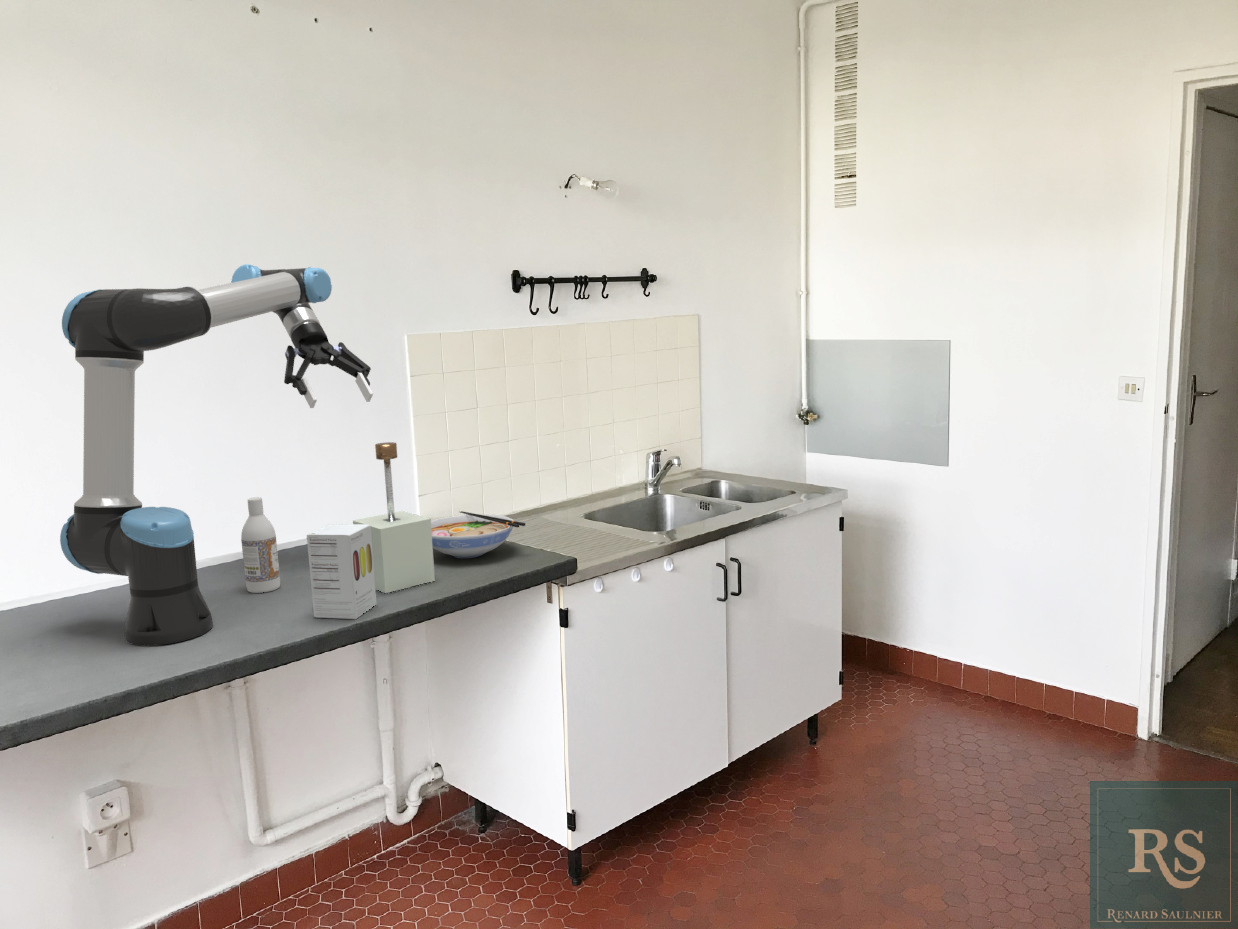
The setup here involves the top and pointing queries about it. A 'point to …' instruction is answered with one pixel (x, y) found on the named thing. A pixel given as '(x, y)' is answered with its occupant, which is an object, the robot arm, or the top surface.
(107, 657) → the top surface
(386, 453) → the plunger
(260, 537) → the bath foam
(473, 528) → the ramen bowl
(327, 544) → the supplement box
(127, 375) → the robot arm
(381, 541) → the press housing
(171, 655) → the top surface
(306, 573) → the top surface
